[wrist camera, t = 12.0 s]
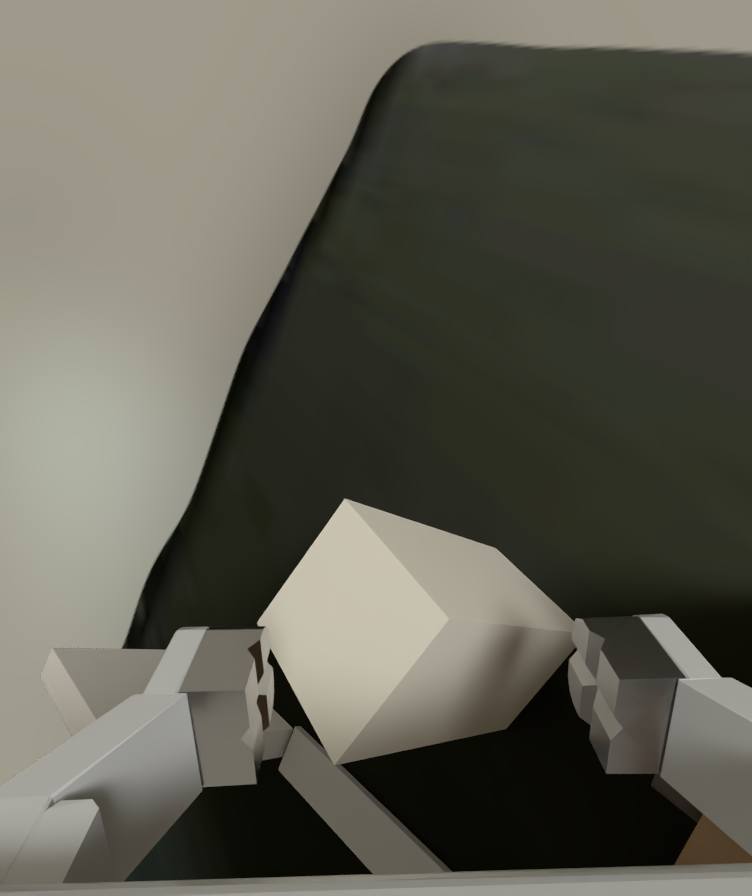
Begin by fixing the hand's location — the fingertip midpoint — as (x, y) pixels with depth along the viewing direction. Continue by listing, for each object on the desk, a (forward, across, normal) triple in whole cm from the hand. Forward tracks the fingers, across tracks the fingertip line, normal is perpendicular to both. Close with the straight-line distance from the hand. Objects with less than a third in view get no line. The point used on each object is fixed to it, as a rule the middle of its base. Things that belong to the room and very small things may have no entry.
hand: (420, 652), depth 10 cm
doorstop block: (+7, +3, -5) cm, 9 cm away
